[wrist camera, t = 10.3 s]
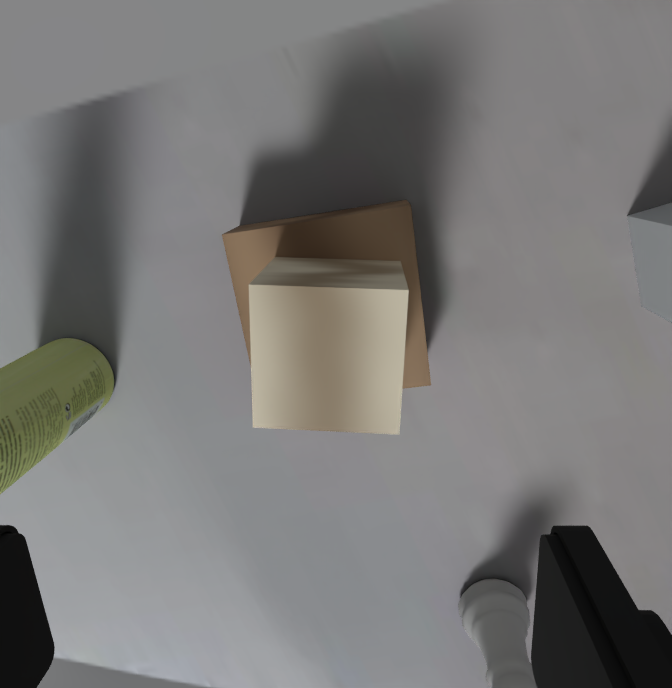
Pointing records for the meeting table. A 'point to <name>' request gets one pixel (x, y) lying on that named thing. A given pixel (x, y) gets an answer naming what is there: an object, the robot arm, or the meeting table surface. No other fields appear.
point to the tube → (48, 401)
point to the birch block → (328, 344)
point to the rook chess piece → (499, 631)
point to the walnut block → (336, 243)
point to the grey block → (653, 258)
